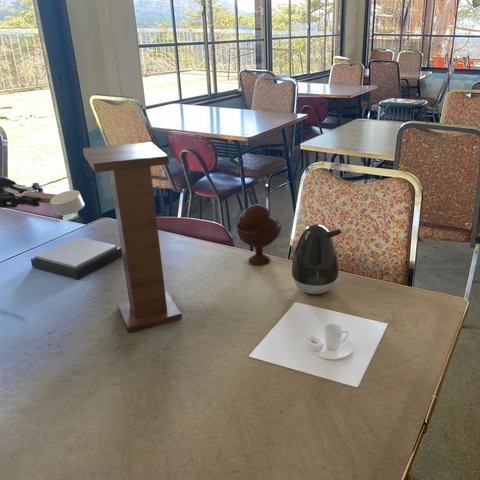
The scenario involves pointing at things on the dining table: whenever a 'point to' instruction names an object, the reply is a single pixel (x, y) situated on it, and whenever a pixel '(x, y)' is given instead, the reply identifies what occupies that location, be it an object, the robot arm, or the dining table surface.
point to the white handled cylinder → (61, 201)
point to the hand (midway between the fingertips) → (42, 200)
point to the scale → (76, 257)
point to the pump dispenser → (315, 260)
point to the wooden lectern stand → (137, 231)
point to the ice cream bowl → (258, 231)
